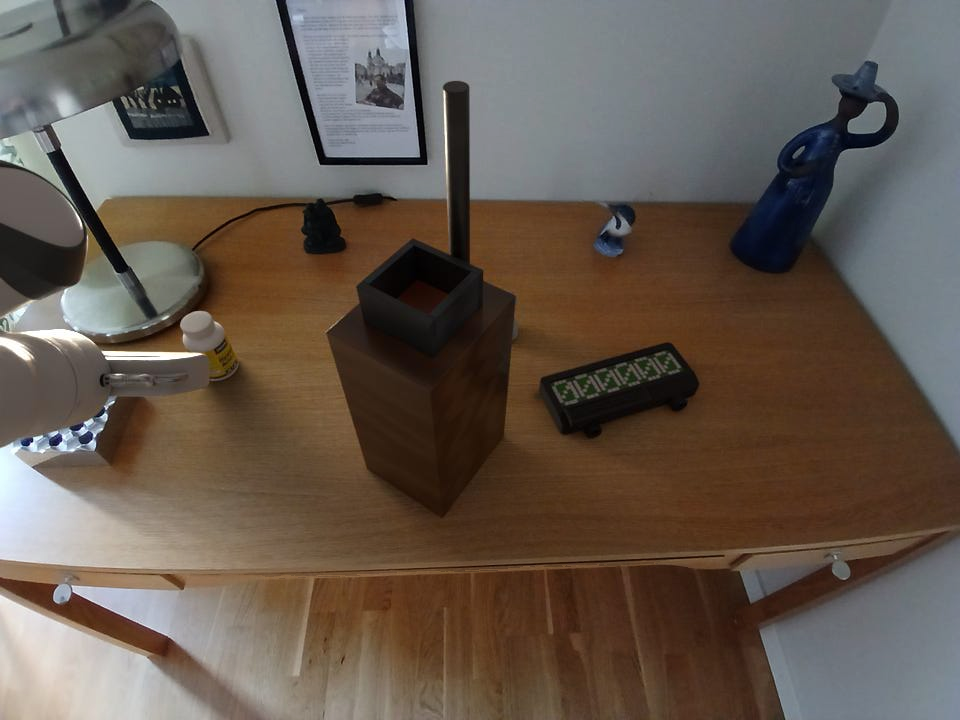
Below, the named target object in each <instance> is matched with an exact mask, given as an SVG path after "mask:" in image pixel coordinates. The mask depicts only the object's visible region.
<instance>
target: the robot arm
mask: <svg viewBox="0 0 960 720" xmlns="http://www.w3.org/2000/svg"><path fill="white" fill-rule="evenodd" d="M88 248H89V237H88V229H87V225H86V223H85V220H84V218H83V216H82V214H81V213H80V211H79V210H78V208H77V207H76V205H75V204H74V202H73V201H72V200H71V199H70V198H69V197H68V196H67V195H66V194H65V193H64V192H63V191H62V190H61V189H60V188H59V187H57V186H56V185H55V184H54V183H52V182H51V181H50V180H49V179H47V178H45V177H44V176H42V175H41V174H40V173H39V174H38V173H37V172H35V171H32V170H31V169H28V168H26V167H24V166H21V165H19V164H16V163H13V162H10V161H7V160H3V159H0V320H2V319H3V318H5V317H7V316H9V315H11V314H13V313H14V312H17V311H18V310H20V309H22V308H24V307H26V306H28V305H30V304H32V303H33V302H35V301H41V300H44V299H46V298H48V297H51V296H53V295H55V294H58V293H60V292H62V291H64V290H68V289H69V288H71V287H74V286H76V285H78V284H79V282H80V281H81V279H82V276H83V273H84V270H85V266H86V262H87V258H88ZM210 381H211V380H210V368H209V359H208V357H207V355H205V354H203V353H188V351H185V352H183V351H181V352H180V351H179V352H177V351H175V352H174V351H173V352H172V351H110V350H109V351H105V350H104V351H103V350H101V348H100V347H99V346H98V345H97V344H96V343H95V342H93V341H92V340H91V339H89V338H88V337H86V336H85V335H83V334H80V333H78V332H75V331H72V330H67V329H49V330H48V329H47V330H33V331H18V332H11V331H6V330H3V329H2V328H0V449H2V448H4V447H7V446H9V445H11V444H13V443H14V442H16V441H18V440H19V439H31V438H32V439H33V438H38V437H42V436H44V435H48V434H51V433H55V432H58V431H61V430H64V429H67V428H71V427H74V426H77V425H80V424H83V423H86V422H88V421H90V420H91V419H93V418H94V417H96V416H97V415H98V414H99V413H101V411H102V410H103V409H104V407H105V406H106V404H107V402H108V400H109V398H110V397H128V398H129V397H133V398H134V397H136V398H137V397H138V398H140V397H141V398H151V397H152V398H155V397H169V396H176V395H181V394H186V393H190V392H194V391H199V390H202V389H206V388H207V387H208V386H209V384H210Z"/></svg>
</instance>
